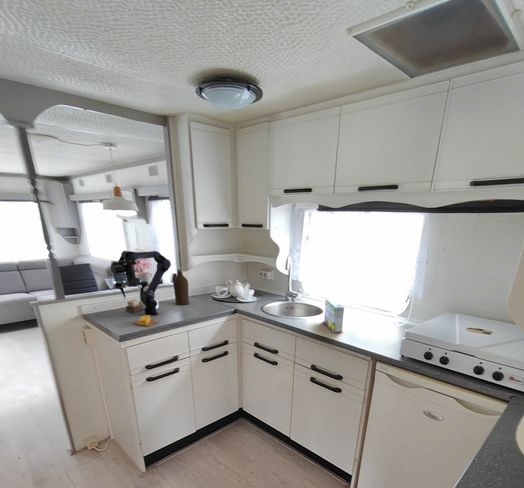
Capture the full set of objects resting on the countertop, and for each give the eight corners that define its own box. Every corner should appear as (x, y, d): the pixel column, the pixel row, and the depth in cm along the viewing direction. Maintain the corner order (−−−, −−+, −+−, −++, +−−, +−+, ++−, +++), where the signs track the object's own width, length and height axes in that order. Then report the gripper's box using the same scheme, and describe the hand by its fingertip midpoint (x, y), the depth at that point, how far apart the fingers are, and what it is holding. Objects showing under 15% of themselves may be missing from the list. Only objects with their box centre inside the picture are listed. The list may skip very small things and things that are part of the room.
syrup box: (154, 302, 223) (135, 300, 225) (154, 310, 225) (136, 308, 228) (158, 300, 228) (139, 298, 231) (159, 308, 230) (140, 306, 233)
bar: (143, 319, 202) (142, 315, 201) (150, 319, 202) (149, 315, 201) (139, 325, 192) (138, 320, 191) (146, 325, 192) (146, 320, 191)
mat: (133, 323, 196) (133, 322, 196) (143, 320, 203) (143, 319, 203) (147, 326, 192) (146, 325, 192) (156, 322, 198) (156, 322, 198)
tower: (142, 310, 223) (140, 300, 221) (134, 313, 217) (132, 302, 215) (134, 309, 226) (133, 299, 223) (126, 311, 220) (125, 301, 218)
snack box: (323, 321, 205) (325, 298, 200) (331, 321, 206) (334, 298, 200) (332, 332, 186) (335, 307, 180) (342, 332, 186) (345, 307, 181)
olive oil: (192, 304, 242) (189, 269, 233) (178, 306, 236) (175, 271, 227) (185, 301, 250) (183, 268, 240) (172, 303, 244) (169, 269, 234)
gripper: (114, 275, 186) (118, 301, 192) (148, 273, 194) (150, 299, 200) (112, 272, 195) (116, 298, 201) (145, 271, 203) (147, 295, 209)
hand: (132, 297), depth 203 cm, fingers open, 9 cm apart
